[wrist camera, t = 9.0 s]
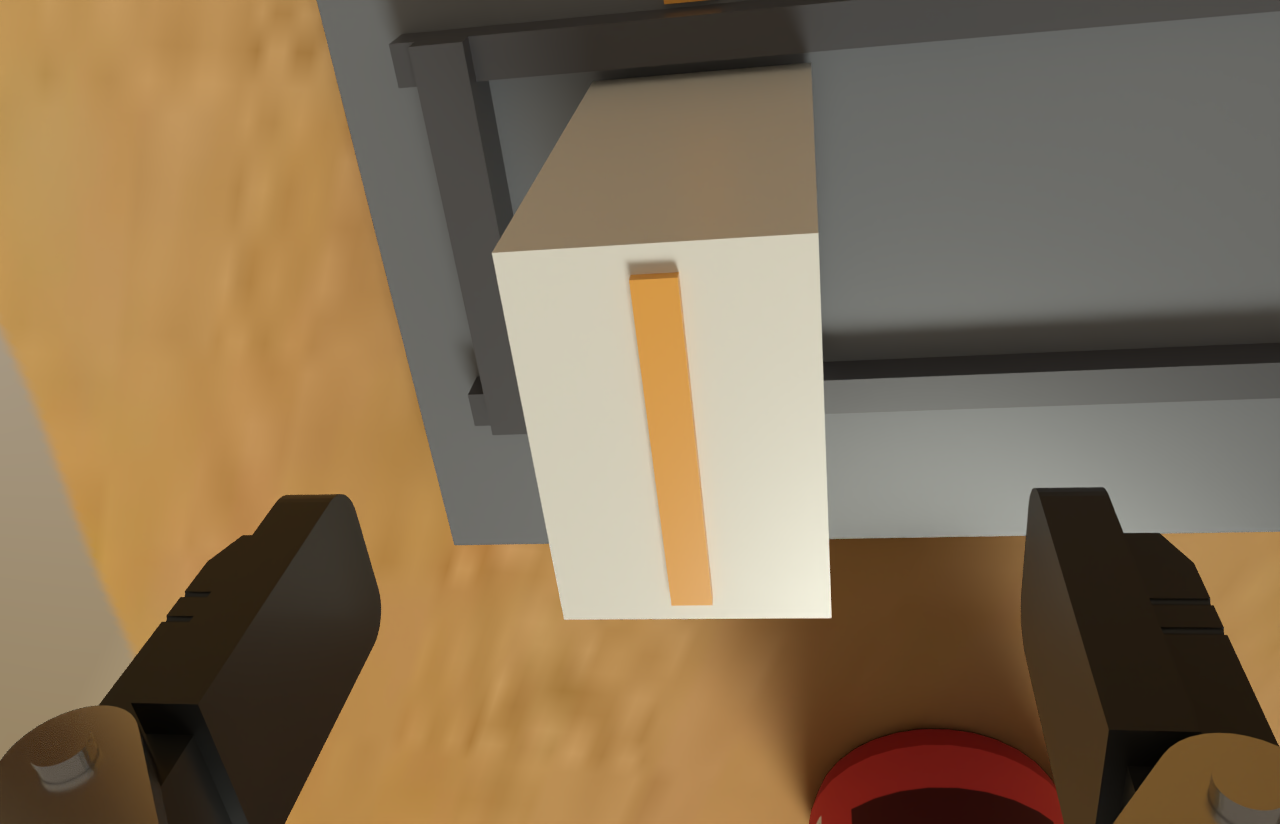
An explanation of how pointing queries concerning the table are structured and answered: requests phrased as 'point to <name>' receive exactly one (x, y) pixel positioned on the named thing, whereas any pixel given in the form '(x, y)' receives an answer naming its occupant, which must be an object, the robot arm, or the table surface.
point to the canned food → (936, 783)
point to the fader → (677, 348)
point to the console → (889, 239)
